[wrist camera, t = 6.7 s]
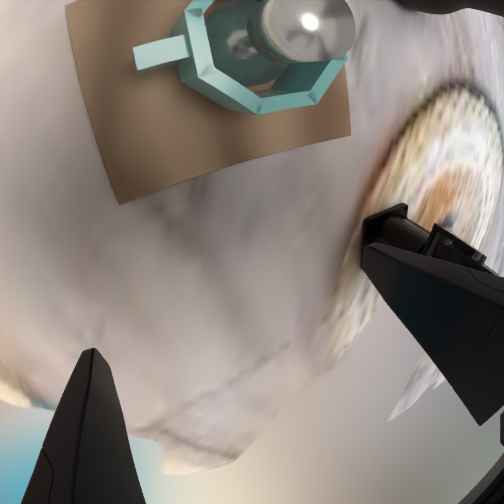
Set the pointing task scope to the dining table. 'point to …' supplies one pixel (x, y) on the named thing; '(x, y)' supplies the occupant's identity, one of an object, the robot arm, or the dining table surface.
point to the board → (175, 103)
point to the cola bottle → (455, 6)
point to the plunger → (277, 36)
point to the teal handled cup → (222, 86)
